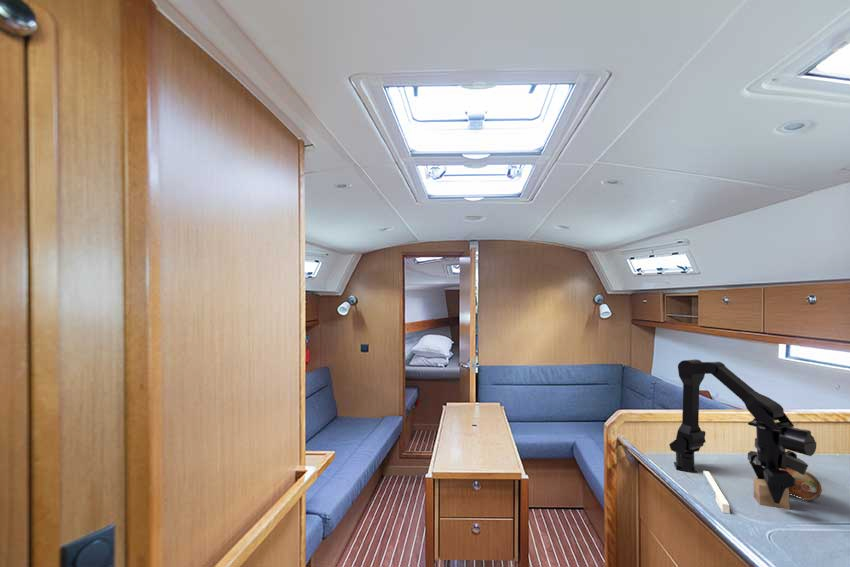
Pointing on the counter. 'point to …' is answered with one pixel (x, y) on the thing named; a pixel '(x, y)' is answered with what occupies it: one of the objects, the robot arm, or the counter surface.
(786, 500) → the tea box
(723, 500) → the rail
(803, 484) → the tin
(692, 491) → the counter surface
